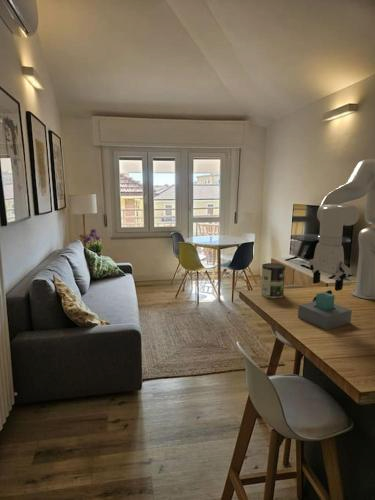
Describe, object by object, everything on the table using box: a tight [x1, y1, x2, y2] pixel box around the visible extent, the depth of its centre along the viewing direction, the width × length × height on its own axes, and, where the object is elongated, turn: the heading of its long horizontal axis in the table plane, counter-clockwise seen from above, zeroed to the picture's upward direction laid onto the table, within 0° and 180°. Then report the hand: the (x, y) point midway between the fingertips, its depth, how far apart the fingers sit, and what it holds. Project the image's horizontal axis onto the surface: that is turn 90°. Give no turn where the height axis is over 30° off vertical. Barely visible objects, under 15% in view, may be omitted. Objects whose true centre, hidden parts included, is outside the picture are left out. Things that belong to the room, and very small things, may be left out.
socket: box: [297, 301, 353, 331], centre depth 120 cm, size 13×13×5 cm
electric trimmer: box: [312, 289, 333, 302], centre depth 144 cm, size 4×16×3 cm, turn 135°
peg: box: [315, 291, 335, 311], centre depth 120 cm, size 4×4×10 cm
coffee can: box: [260, 262, 286, 299], centre depth 149 cm, size 10×10×14 cm
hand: (327, 286), depth 119 cm, fingers open, 9 cm apart
